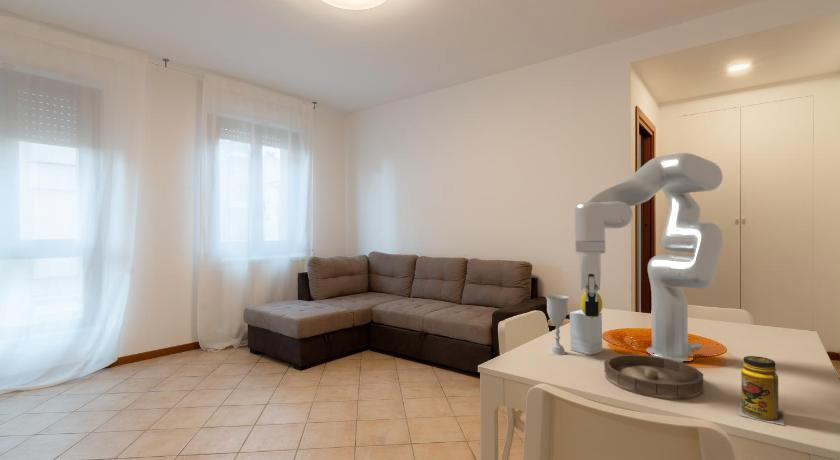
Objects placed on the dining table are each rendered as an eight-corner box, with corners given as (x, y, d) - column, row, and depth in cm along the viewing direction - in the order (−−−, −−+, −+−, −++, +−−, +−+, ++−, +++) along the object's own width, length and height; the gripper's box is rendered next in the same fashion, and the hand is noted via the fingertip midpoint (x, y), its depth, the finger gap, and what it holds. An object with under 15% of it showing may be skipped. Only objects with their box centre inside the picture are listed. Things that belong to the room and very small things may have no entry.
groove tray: (657, 364, 117) (657, 352, 117) (726, 395, 95) (726, 381, 95) (588, 369, 114) (588, 357, 114) (643, 402, 92) (643, 387, 92)
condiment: (738, 415, 86) (738, 359, 85) (739, 402, 92) (739, 350, 92) (784, 426, 81) (784, 367, 81) (782, 411, 87) (782, 356, 87)
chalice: (569, 350, 131) (568, 295, 131) (569, 356, 125) (569, 299, 125) (545, 348, 134) (545, 294, 134) (545, 354, 127) (544, 298, 127)
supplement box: (603, 351, 130) (602, 312, 130) (589, 355, 126) (589, 315, 126) (582, 346, 136) (582, 308, 136) (569, 350, 132) (568, 311, 132)
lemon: (604, 321, 107) (604, 291, 106) (582, 320, 108) (581, 291, 108) (600, 316, 112) (599, 287, 112) (579, 315, 113) (578, 287, 113)
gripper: (575, 245, 119) (577, 306, 119) (575, 249, 103) (576, 320, 103) (603, 245, 116) (604, 307, 116) (607, 249, 100) (608, 321, 100)
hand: (591, 312), depth 110 cm, fingers closed on lemon, 5 cm apart
